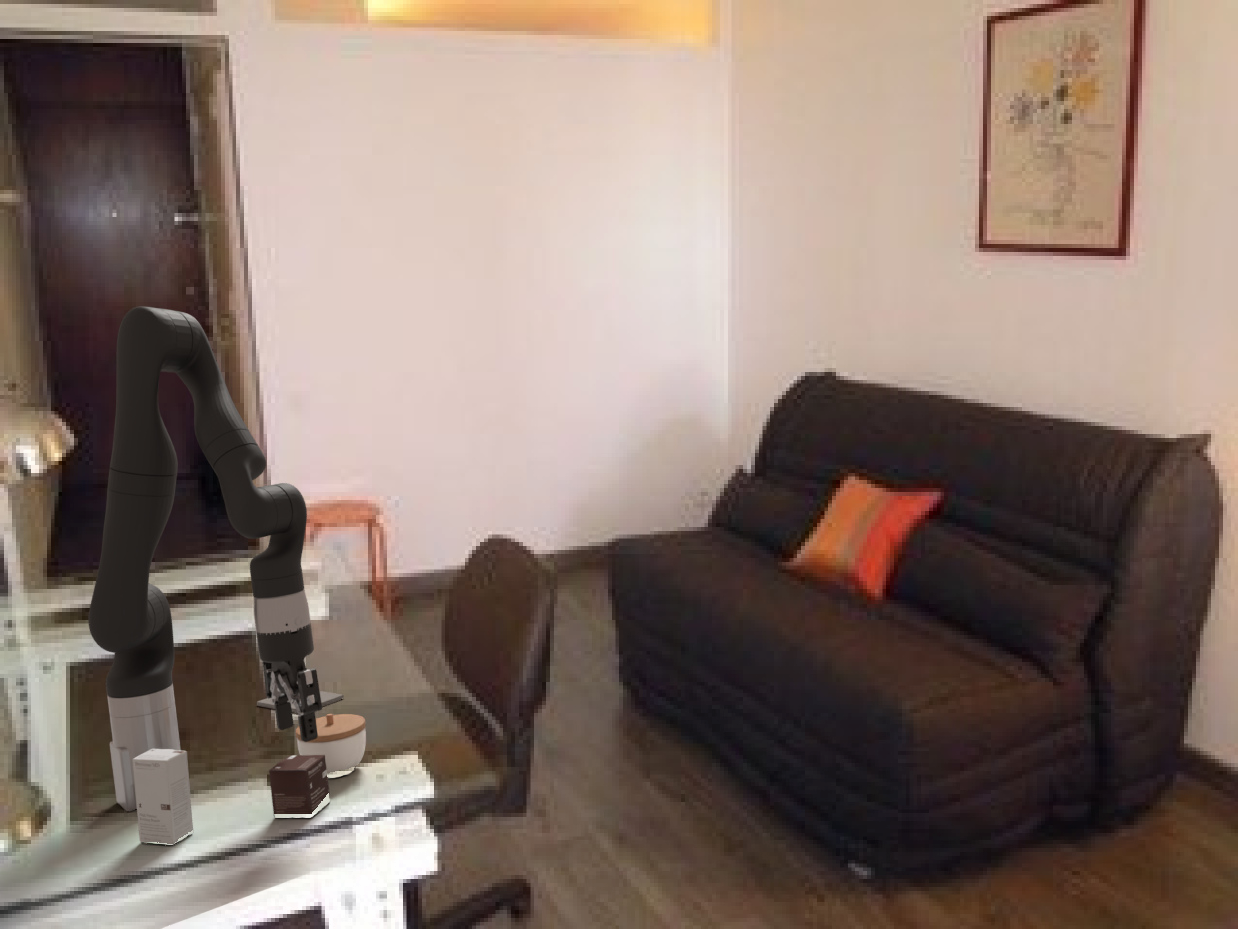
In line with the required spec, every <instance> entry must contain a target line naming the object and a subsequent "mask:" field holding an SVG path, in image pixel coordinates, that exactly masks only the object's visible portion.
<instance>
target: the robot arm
mask: <svg viewBox="0 0 1238 929" xmlns="http://www.w3.org/2000/svg"><path fill="white" fill-rule="evenodd" d="M116 339H117V341H116V395H115V396H116V398H115V399H116V401H115V402H116V404H115V406H116V407H115V417H114V419H115V420H114V428H113V430H114V431H113V443H112V452H111V458H110V464H109V472H108V480H107V481H108V482H107V489H106V490H107V491H106V492H107V493H106V506H105V513H104V514H105V516H104V524H103V531H102V533H103V534H102V543H101V544H102V545H101V555H100V560H99V565H98V570H97V575H96V580H95V583H94V588H93V593H92V597H91V602H90V606H89V609H88V610H89V612H88V622H87V623H88V628H89V632H90V635H91V637H92V639H93V641H94V642H95V643H96V645H98V647H99V648H101V649H102V650H104V651H106V652H109V653H113V654H114V656H113V662H112V665H111V667H110V670H109V671H108V672H107V675H106V678H105V691H106V696H107V697H106V698H107V703H108V711H109V712H108V713H109V722H110V730H111V737H112V741H110V742H109V751H110V759H111V768H112V775H113V782H114V789H115V790H114V791H115V798H116V802H117V804H118V805H119V806H121V807H122V808H123V810H124V811H126V812H127V811H129V812H132V811H135V809H137V806H136V794H135V783H134V771H133V761H132V760H133V759H134V758H135V757H137V756H139V755H141V754H143V753H145V752H147V751H149V750H151V749H173V750H182V749H181V742H180V734H179V726H178V725H179V724H178V718H177V717H178V715H177V709H176V700H175V692H174V690H175V689H174V684H173V683H174V682H173V669H174V664H175V658H176V656H175V643H174V630H173V628H174V627H173V618H172V612H171V606H170V604H169V602H168V599H167V597H166V595H165V593H164V592H163V591H162V590H161V589H160V588H159V587H158V586H156V585H154V584H152V583H149V581H150V571H151V565H152V560H153V557H154V554H155V551H156V548H157V547H158V544H159V542H160V539H161V537H162V535H163V533H164V531H165V527H166V525H167V523H168V521H169V518H170V516H171V512H172V509H173V505H174V500H175V495H176V494H175V493H176V485H177V478H178V466H179V464H178V463H179V462H178V456H177V452H176V450H175V446H174V444H173V442H172V439H171V436H170V435H169V433H168V432H169V431H168V429H167V428H166V425H165V423H164V420H163V418H162V416H161V412H160V406H159V405H160V404H159V390H160V389H159V388H160V387H159V386H160V376H161V372H162V373H163V372H166V373H175V374H176V375H177V376H178V378H179V379H180V380H181V382H183V384H184V385H185V386H186V388H187V389H188V391H189V393H190V395H191V397H192V400H193V408H194V409H193V410H194V411H193V412H194V413H193V414H194V417H193V420H194V422H193V423H194V424H193V425H194V426H193V427H194V433H195V438H196V441H197V443H198V446H199V447H200V449H201V451H202V453H203V455H204V456H205V458H206V461H208V463H209V465H210V467H211V468H212V470H213V471H214V473H215V474H216V476H217V479H218V482H219V485H220V489H221V493H222V497H223V500H224V501H223V502H224V504H225V505H224V506H225V510H226V514H227V518H228V522H230V525H231V527H232V528H233V529H234V530H235V531H236V532H237V533H238V534H240V535H241V536H243V537H244V538H247V539H250V540H252V539H260V538H264V537H269V540H268V541H269V542H268V544H267V547H266V549H264V550H263V551H261V552H260V553H258V554H257V555H255V556H254V557H253V558H251V560H250V563H249V573H250V583H251V590H252V597H253V619H254V625H255V626H254V627H255V633H256V638H257V640H256V641H257V647H258V648H257V649H258V656H259V659H260V660H261V662H262V669H263V676H264V677H263V678H264V686H265V688H264V689H265V696H266V698H268V699H269V698H271V702H272V704H273V705H275V709H274V712H275V713H274V714H275V719H276V727H277V729H278V730H281V731H284V730H287V729H290V728H292V727H294V718H293V712H292V709H291V703H292V704H294V705H295V708H296V710H297V713H296V714H297V715H298V716H297V718H298V727H300V735H301V740H302V741H304V742H308V741H311V740H314V739H316V738H317V737H318V733H317V725H316V718H317V717H316V713H317V712H319V711H322V710H323V707H322V704H321V697H320V691H321V690H320V686H319V685H320V684H319V679H318V672H317V669H316V668H315V667H313V668H309V669H308V668H307V666H306V661H305V658H306V657H307V656H309V655H311V654H312V653H313V652H314V650H315V646H314V645H315V644H314V639H313V638H314V637H313V631H312V623H311V615H310V608H309V602H308V598H307V595H306V591H305V582H304V576H303V568H302V555H303V551H304V550H303V549H304V542H305V534H306V529H307V521H308V511H307V503H306V501H305V498H304V497H303V494H302V493H301V491H300V490H299V489H298V488H297V487H296V486H294V485H293V484H290V483H286V482H285V483H283V482H282V483H274V484H270V485H264V486H259V487H257V486H256V485H255V484H254V480H256V479H257V478H259V477H260V476H262V474H263V473H264V471H265V470H266V467H267V459H266V457H265V455H264V453H263V451H262V449H261V447H260V446H259V445H258V443H257V441H256V440H255V437H254V436H253V435H252V433H251V431H250V429H249V428H248V426H247V425H246V423H245V422H244V420H243V419H242V418H243V417H242V416H241V415H240V413H239V411H238V409H237V407H236V405H235V403H234V400H233V399H232V397H231V394H230V392H229V389H228V387H227V384H226V381H225V379H224V376H223V374H222V372H221V369H220V366H219V364H218V362H217V359H216V356H215V354H214V351H213V349H212V346H211V343H210V341H209V339H208V336H207V334H206V332H205V331H204V329H203V327H202V325H201V324H200V322H199V321H198V320H197V319H196V318H195V317H194V316H193V315H191V314H190V313H186V312H183V311H178V310H173V309H166V308H159V307H152V306H143V305H141V306H136V307H132V308H131V309H130V310H129V311H127V312H126V314H125V315H124V316H123V318H122V320H121V323H120V326H119V329H118V332H117V338H116ZM313 695H314V699H313ZM287 701H289V702H287ZM300 701H301V703H300ZM307 701H308V703H307ZM308 704H309V705H308Z"/></svg>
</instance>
